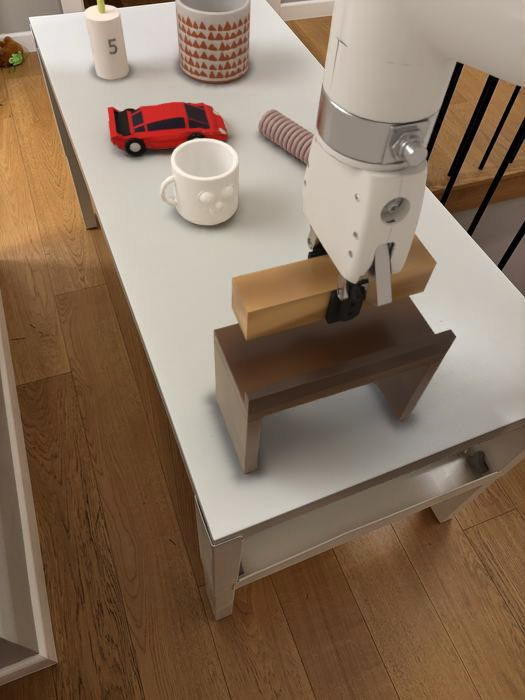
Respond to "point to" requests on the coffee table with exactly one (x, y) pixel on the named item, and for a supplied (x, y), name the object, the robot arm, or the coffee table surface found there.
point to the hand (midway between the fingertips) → (330, 297)
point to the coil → (286, 134)
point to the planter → (213, 38)
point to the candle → (106, 41)
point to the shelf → (323, 367)
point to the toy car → (164, 126)
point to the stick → (310, 291)
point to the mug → (204, 181)
